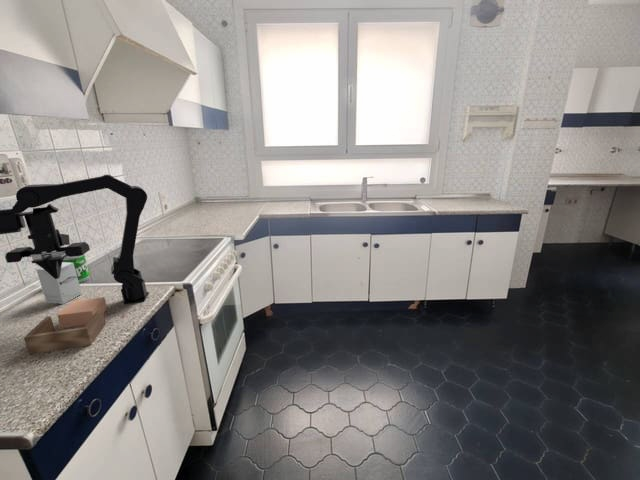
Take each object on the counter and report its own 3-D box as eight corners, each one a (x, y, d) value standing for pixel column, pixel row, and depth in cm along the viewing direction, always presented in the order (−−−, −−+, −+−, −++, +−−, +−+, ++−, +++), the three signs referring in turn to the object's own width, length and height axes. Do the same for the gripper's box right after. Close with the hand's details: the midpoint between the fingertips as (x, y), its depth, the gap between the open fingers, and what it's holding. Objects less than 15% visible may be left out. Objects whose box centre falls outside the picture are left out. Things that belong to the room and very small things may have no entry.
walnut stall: (106, 323, 93) (102, 309, 91) (91, 344, 83) (86, 328, 82) (51, 331, 89) (46, 316, 88) (29, 354, 80) (23, 337, 78)
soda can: (64, 286, 119) (55, 257, 115) (70, 279, 125) (62, 251, 121) (87, 282, 121) (80, 254, 118) (92, 275, 128) (85, 248, 124)
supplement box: (63, 304, 105) (52, 270, 101) (45, 302, 106) (34, 269, 102) (83, 294, 112) (74, 262, 108) (66, 293, 113) (57, 261, 109)
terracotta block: (107, 309, 102) (104, 297, 100) (95, 324, 93) (91, 310, 92) (76, 313, 100) (72, 300, 98) (61, 328, 91) (57, 315, 90)
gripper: (90, 220, 99) (102, 265, 104) (21, 225, 94) (36, 272, 99) (74, 228, 89) (88, 278, 93) (-5, 235, 84) (13, 286, 89)
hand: (57, 278), depth 94 cm, fingers closed
